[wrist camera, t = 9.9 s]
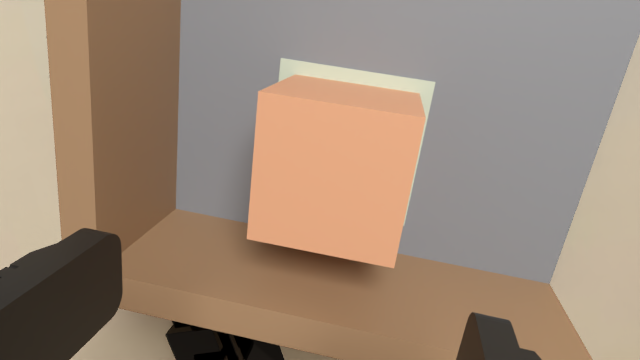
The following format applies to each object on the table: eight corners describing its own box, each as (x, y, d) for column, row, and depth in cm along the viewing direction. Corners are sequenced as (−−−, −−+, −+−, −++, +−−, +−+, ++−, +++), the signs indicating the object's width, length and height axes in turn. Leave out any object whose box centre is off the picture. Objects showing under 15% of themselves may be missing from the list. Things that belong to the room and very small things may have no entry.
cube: (419, 93, 21) (425, 117, 16) (396, 209, 23) (394, 268, 18) (295, 74, 22) (258, 91, 16) (282, 188, 24) (246, 239, 18)
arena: (655, -44, 19) (821, -89, 11) (534, 298, 25) (592, 417, 17) (161, -102, 21) (32, -170, 14) (158, 221, 27) (65, 295, 20)
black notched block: (306, 382, 30) (290, 441, 26) (209, 392, 32) (179, 449, 27) (248, 212, 27) (219, 248, 22) (143, 234, 28) (97, 271, 24)
